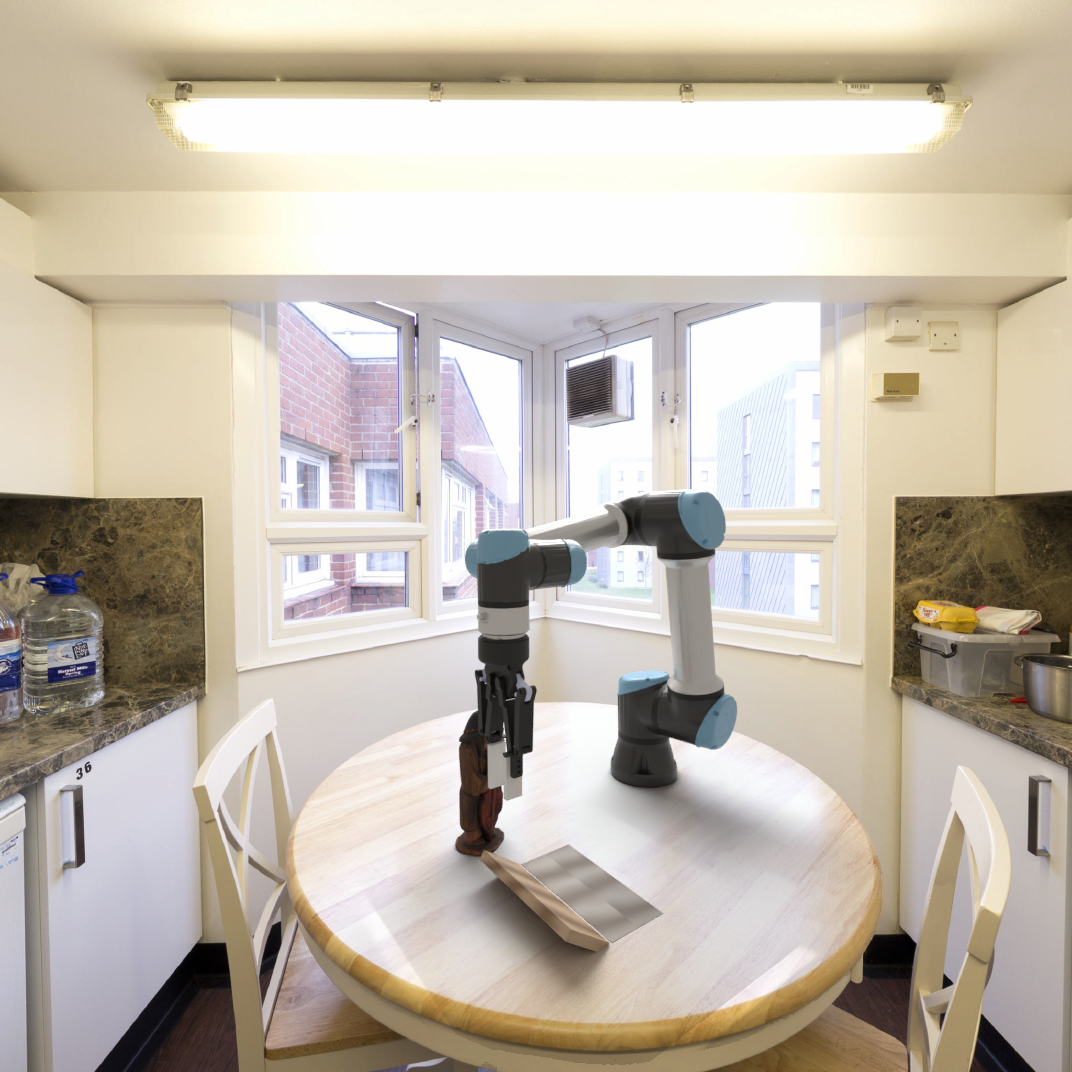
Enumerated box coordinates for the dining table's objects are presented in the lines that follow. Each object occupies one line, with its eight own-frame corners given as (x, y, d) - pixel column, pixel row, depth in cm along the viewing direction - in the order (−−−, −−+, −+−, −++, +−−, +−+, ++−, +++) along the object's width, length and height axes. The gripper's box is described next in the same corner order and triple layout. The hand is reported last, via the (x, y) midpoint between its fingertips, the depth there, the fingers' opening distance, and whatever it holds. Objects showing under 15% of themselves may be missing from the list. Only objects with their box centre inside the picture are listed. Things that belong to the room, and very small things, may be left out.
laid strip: (521, 872, 97) (521, 864, 97) (568, 852, 102) (568, 844, 102) (612, 953, 79) (612, 942, 79) (663, 923, 85) (663, 913, 84)
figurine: (481, 871, 97) (480, 723, 97) (445, 857, 101) (443, 715, 101) (515, 842, 106) (513, 706, 105) (479, 830, 110) (478, 699, 109)
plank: (479, 859, 92) (484, 849, 92) (514, 873, 96) (518, 863, 96) (565, 941, 74) (570, 929, 74) (604, 954, 78) (609, 942, 78)
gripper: (454, 628, 90) (455, 777, 91) (513, 647, 76) (514, 823, 77) (495, 622, 94) (496, 765, 95) (558, 640, 81) (559, 806, 81)
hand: (504, 791), depth 86 cm, fingers open, 4 cm apart
